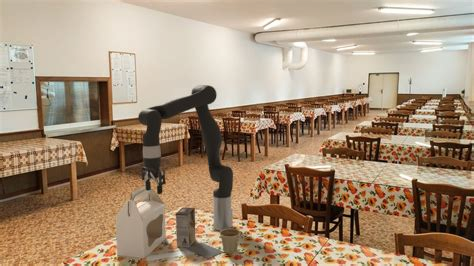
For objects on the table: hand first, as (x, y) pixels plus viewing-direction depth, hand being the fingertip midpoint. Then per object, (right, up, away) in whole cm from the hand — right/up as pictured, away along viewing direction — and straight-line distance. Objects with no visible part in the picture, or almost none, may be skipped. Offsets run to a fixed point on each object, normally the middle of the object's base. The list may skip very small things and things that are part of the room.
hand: (154, 192), depth 161 cm
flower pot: (+33, -27, +4) cm, 43 cm away
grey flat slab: (+22, -27, +5) cm, 35 cm away
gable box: (-7, -27, +9) cm, 29 cm away
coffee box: (+12, -26, +13) cm, 32 cm away
